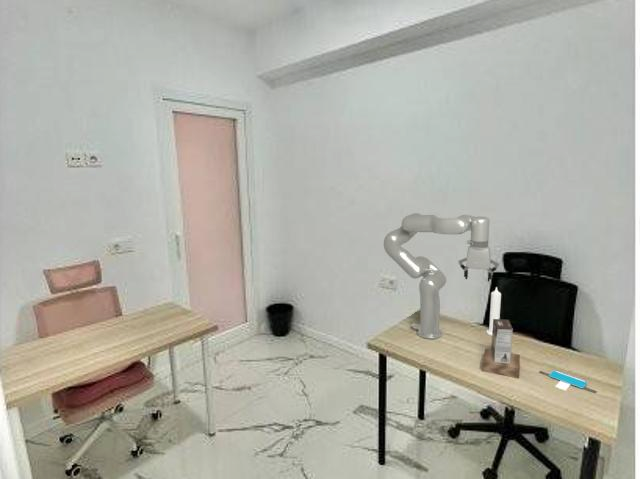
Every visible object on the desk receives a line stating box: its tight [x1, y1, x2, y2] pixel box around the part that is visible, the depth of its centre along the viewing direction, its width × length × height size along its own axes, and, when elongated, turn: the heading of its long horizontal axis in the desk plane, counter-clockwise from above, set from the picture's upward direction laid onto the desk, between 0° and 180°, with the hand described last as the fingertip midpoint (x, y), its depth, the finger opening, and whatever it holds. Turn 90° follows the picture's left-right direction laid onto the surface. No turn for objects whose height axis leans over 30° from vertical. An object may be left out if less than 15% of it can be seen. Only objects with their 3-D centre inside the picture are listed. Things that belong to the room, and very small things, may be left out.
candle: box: [485, 286, 502, 337], centre depth 194 cm, size 7×7×25 cm
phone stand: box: [538, 369, 597, 394], centre depth 154 cm, size 20×12×2 cm, turn 41°
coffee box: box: [490, 318, 514, 364], centre depth 164 cm, size 9×6×16 cm
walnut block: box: [481, 348, 521, 380], centre depth 166 cm, size 14×12×5 cm
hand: (477, 279), depth 179 cm, fingers open, 9 cm apart
